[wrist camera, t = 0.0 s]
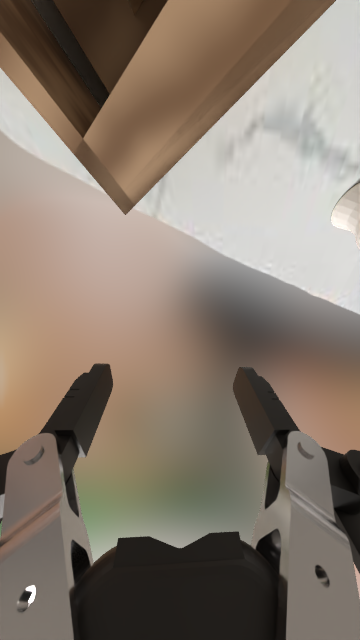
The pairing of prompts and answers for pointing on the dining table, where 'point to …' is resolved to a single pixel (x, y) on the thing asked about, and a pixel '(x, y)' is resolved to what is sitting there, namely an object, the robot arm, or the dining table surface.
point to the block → (135, 5)
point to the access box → (145, 75)
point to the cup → (348, 212)
